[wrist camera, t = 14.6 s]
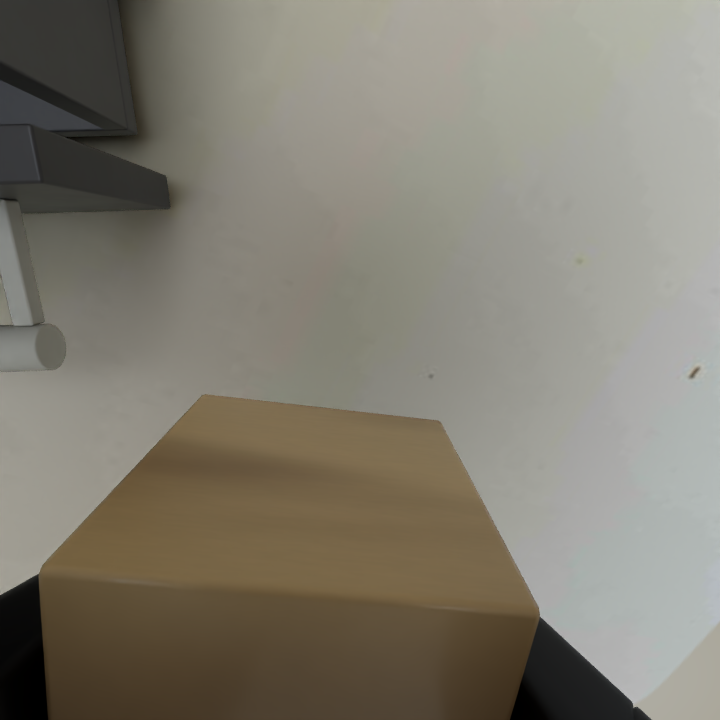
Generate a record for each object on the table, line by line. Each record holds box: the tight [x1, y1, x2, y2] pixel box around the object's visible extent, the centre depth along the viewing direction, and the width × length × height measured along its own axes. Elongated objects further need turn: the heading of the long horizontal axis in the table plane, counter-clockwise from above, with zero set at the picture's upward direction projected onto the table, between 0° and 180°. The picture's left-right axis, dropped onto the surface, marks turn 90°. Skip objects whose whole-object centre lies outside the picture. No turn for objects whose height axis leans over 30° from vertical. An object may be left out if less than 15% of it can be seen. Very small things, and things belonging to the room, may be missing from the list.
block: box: [38, 394, 540, 720], centre depth 6 cm, size 4×4×4 cm
